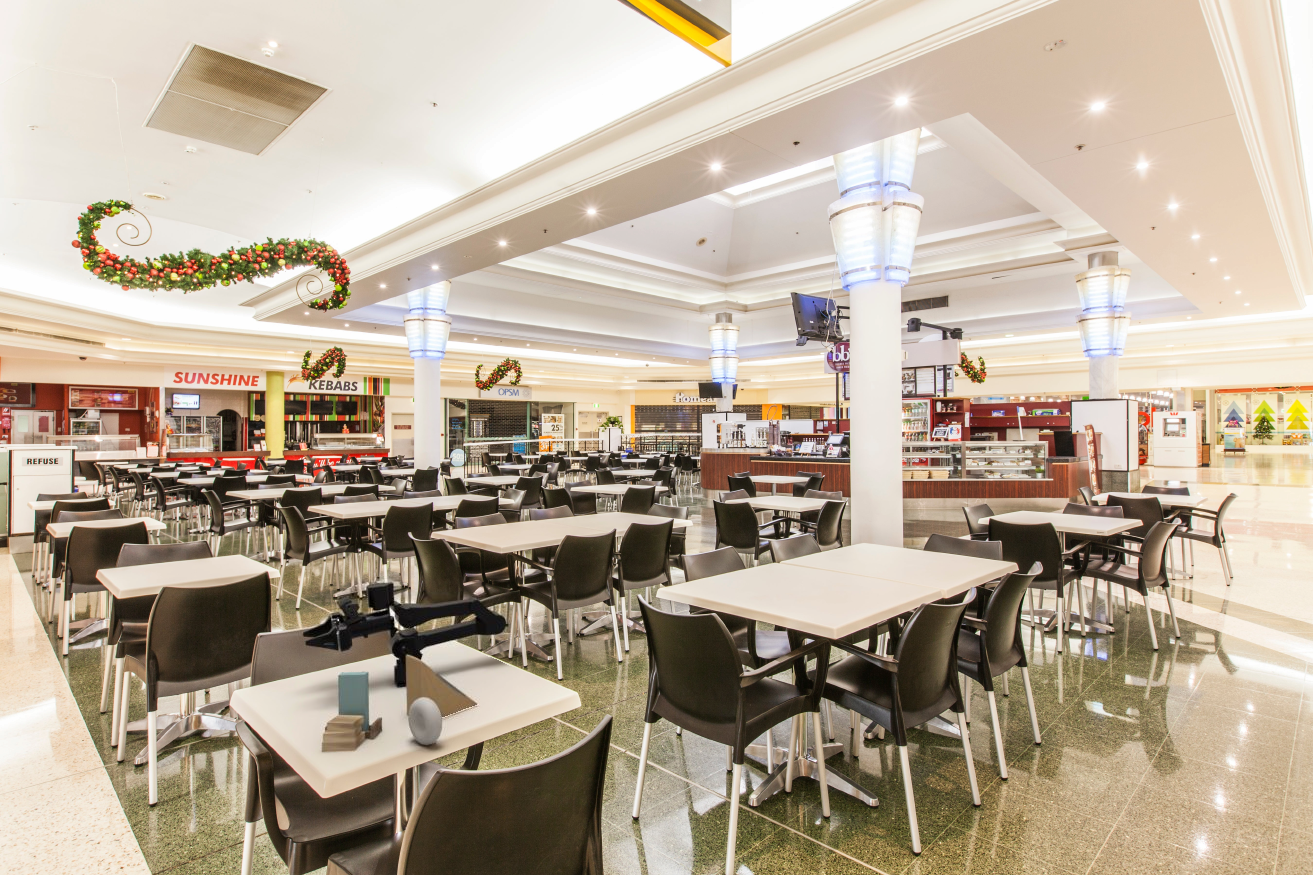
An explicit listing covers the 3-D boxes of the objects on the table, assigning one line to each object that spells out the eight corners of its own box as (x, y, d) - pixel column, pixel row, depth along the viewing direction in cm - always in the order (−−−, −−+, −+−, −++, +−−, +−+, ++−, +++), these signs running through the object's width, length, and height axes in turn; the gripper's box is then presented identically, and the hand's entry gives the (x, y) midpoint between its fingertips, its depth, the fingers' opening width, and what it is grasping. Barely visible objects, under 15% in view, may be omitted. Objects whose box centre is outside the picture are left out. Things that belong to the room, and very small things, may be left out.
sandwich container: (481, 705, 159) (480, 645, 159) (422, 725, 148) (422, 661, 148) (463, 696, 165) (463, 639, 165) (406, 715, 154) (405, 653, 154)
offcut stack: (333, 741, 141) (332, 714, 141) (365, 740, 141) (365, 714, 141) (320, 752, 136) (320, 725, 136) (354, 751, 136) (354, 724, 136)
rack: (334, 731, 145) (334, 718, 145) (382, 730, 145) (382, 717, 146) (325, 740, 141) (325, 727, 141) (373, 739, 141) (373, 725, 141)
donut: (405, 740, 140) (404, 695, 140) (419, 734, 143) (418, 690, 143) (432, 752, 134) (431, 705, 134) (446, 746, 137) (445, 700, 137)
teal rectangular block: (342, 734, 144) (342, 672, 144) (369, 733, 144) (368, 671, 144) (338, 737, 142) (338, 675, 142) (365, 736, 142) (364, 674, 143)
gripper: (361, 588, 179) (298, 600, 170) (372, 601, 163) (303, 615, 155) (365, 627, 179) (302, 641, 171) (376, 643, 163) (307, 660, 155)
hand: (304, 638), depth 163 cm, fingers open, 9 cm apart
